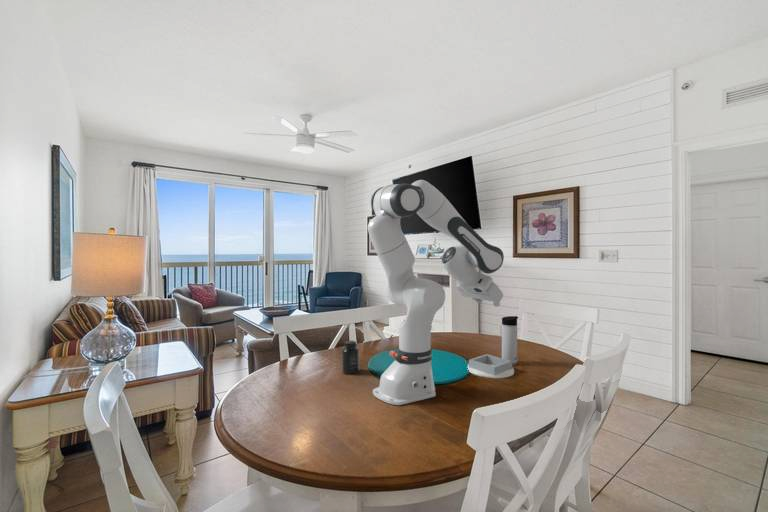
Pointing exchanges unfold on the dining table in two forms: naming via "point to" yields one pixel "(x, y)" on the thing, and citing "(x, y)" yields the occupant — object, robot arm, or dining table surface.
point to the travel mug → (509, 338)
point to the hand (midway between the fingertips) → (488, 303)
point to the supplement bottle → (350, 358)
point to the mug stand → (490, 367)
